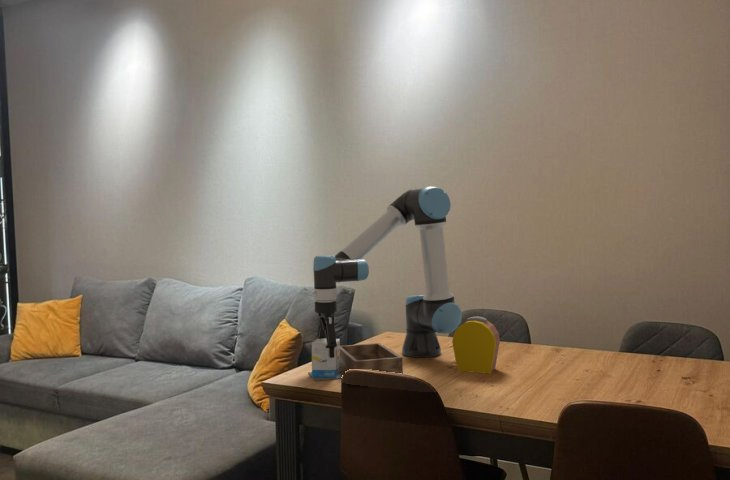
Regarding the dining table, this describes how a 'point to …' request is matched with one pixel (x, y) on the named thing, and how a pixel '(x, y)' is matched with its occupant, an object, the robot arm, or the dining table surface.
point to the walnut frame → (370, 358)
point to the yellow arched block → (476, 345)
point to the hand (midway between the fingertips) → (327, 362)
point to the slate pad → (325, 377)
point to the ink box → (324, 359)
